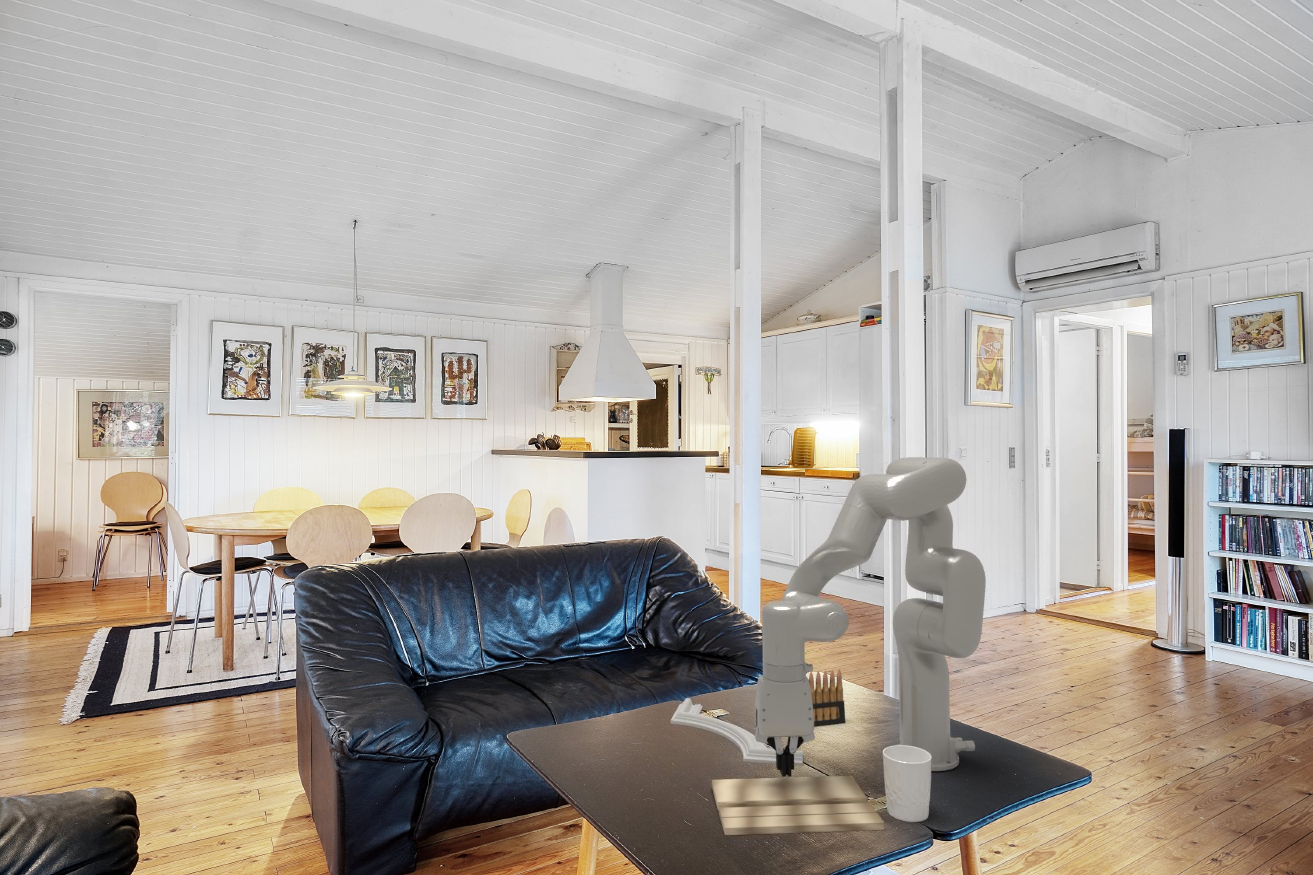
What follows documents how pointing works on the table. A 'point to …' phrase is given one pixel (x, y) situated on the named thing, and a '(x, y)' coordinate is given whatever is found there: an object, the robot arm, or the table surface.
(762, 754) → the molding
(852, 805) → the laid board
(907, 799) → the white cup
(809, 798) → the plank
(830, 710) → the ammunition clip
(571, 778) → the table surface
